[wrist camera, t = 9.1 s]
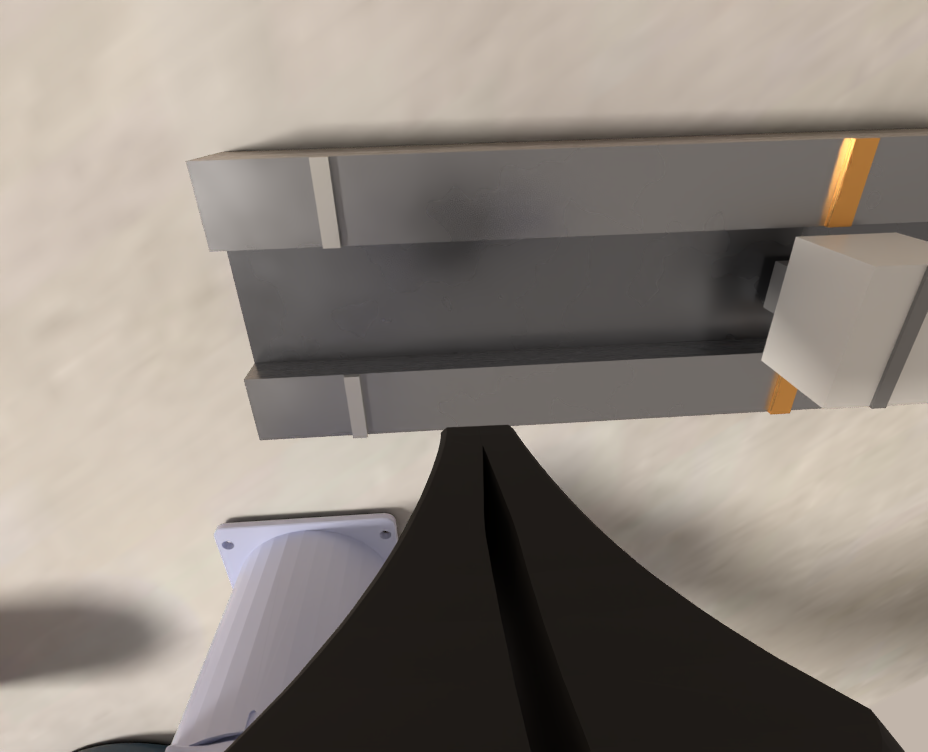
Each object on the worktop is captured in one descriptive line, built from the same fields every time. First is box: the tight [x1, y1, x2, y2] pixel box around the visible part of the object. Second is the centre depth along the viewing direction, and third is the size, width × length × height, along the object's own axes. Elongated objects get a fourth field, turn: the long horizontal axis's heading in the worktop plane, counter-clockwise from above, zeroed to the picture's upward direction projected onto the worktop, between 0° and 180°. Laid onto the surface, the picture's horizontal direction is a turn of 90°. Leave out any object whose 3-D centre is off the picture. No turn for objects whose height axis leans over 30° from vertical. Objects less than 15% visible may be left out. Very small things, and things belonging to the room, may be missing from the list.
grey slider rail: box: [186, 128, 928, 440], centre depth 17 cm, size 9×23×3 cm, turn 92°
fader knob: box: [761, 232, 928, 409], centre depth 15 cm, size 4×3×5 cm
